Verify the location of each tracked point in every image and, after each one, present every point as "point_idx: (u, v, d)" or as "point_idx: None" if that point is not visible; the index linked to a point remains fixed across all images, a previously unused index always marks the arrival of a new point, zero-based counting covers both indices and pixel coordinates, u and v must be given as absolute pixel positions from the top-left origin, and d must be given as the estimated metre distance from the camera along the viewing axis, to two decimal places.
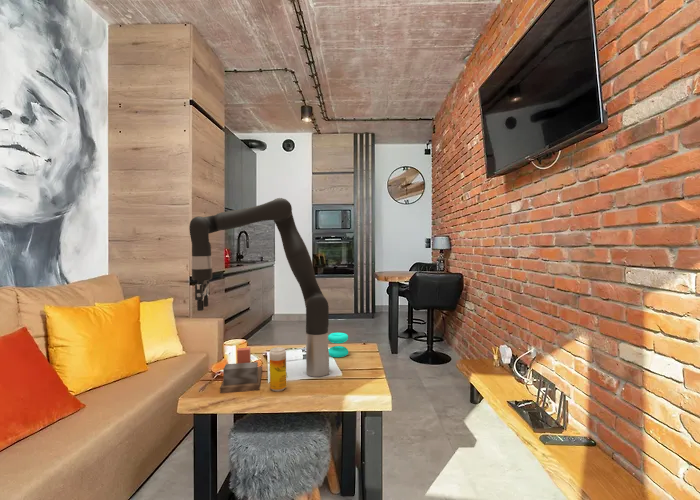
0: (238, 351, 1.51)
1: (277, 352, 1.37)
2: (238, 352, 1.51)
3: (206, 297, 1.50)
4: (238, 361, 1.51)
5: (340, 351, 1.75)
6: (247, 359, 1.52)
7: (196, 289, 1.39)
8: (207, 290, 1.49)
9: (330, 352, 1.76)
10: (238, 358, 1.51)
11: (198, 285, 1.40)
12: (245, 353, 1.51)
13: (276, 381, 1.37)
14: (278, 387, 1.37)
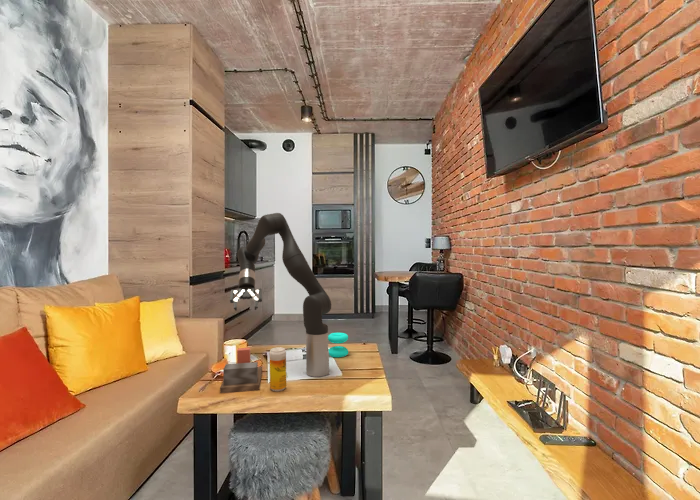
0: (238, 351, 1.51)
1: (277, 352, 1.37)
2: (238, 352, 1.51)
3: (255, 301, 1.70)
4: (238, 361, 1.51)
5: (340, 351, 1.75)
6: (247, 359, 1.52)
7: None
8: (250, 294, 1.71)
9: (330, 352, 1.76)
10: (238, 358, 1.51)
11: None
12: (245, 353, 1.51)
13: (276, 381, 1.37)
14: (278, 387, 1.37)
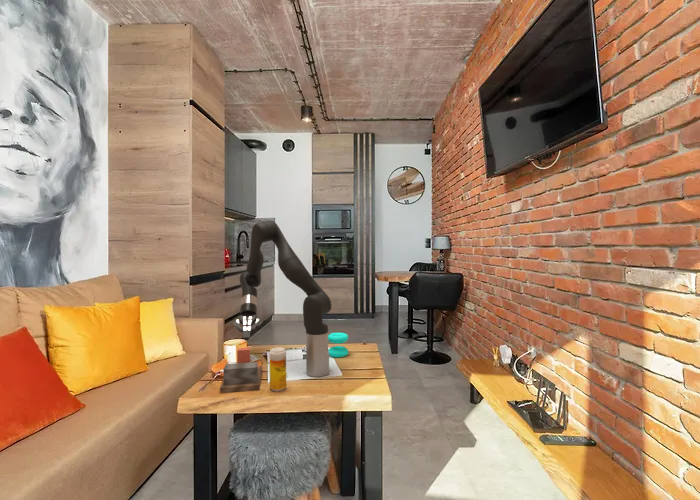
0: (238, 351, 1.51)
1: (277, 352, 1.37)
2: (238, 352, 1.51)
3: (247, 331, 1.65)
4: (238, 361, 1.51)
5: (340, 351, 1.75)
6: (247, 359, 1.52)
7: (235, 326, 1.68)
8: (248, 322, 1.68)
9: (330, 352, 1.76)
10: (238, 358, 1.51)
11: None
12: (245, 353, 1.51)
13: (276, 381, 1.37)
14: (278, 387, 1.37)
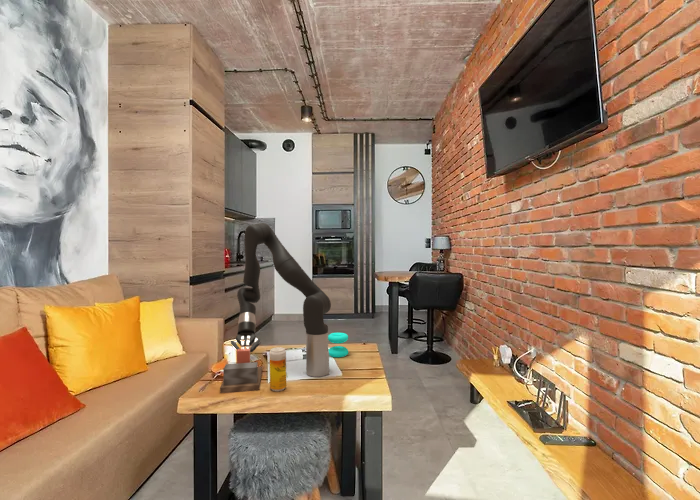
0: (238, 352, 1.50)
1: (277, 352, 1.37)
2: (237, 353, 1.50)
3: None
4: (238, 362, 1.50)
5: (340, 351, 1.75)
6: (246, 360, 1.51)
7: None
8: (246, 342, 1.58)
9: (330, 352, 1.76)
10: (238, 359, 1.50)
11: (231, 343, 1.59)
12: (245, 353, 1.50)
13: (276, 381, 1.37)
14: (278, 387, 1.37)
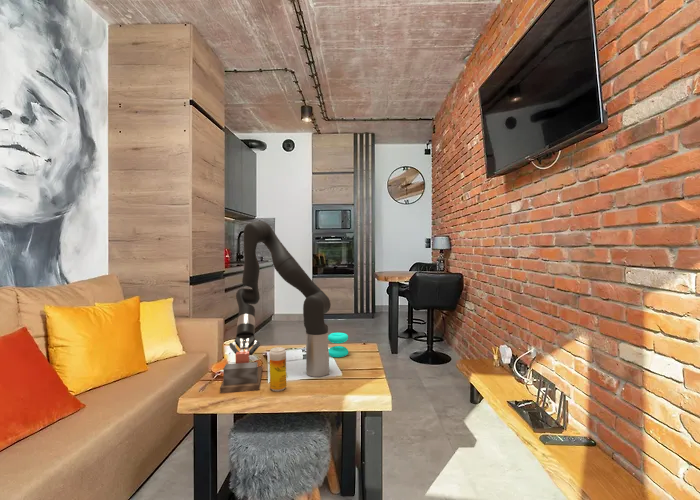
0: (236, 355, 1.46)
1: (277, 352, 1.37)
2: (236, 356, 1.46)
3: None
4: None
5: (340, 351, 1.75)
6: None
7: None
8: (245, 344, 1.54)
9: (330, 352, 1.76)
10: (236, 362, 1.46)
11: None
12: (244, 356, 1.47)
13: (276, 381, 1.37)
14: (278, 387, 1.37)
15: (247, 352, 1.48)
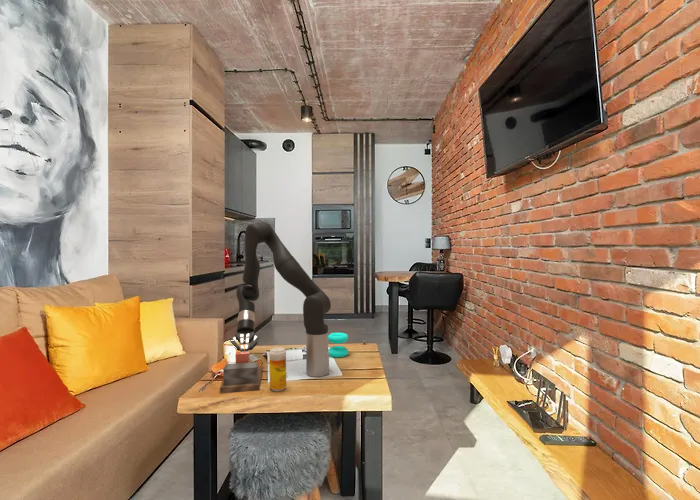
0: (236, 355, 1.46)
1: (277, 352, 1.37)
2: (236, 356, 1.46)
3: None
4: None
5: (340, 351, 1.75)
6: None
7: None
8: (245, 340, 1.58)
9: (330, 352, 1.76)
10: (236, 362, 1.46)
11: (230, 341, 1.59)
12: (244, 357, 1.46)
13: (276, 381, 1.37)
14: (278, 387, 1.37)
15: (247, 352, 1.48)
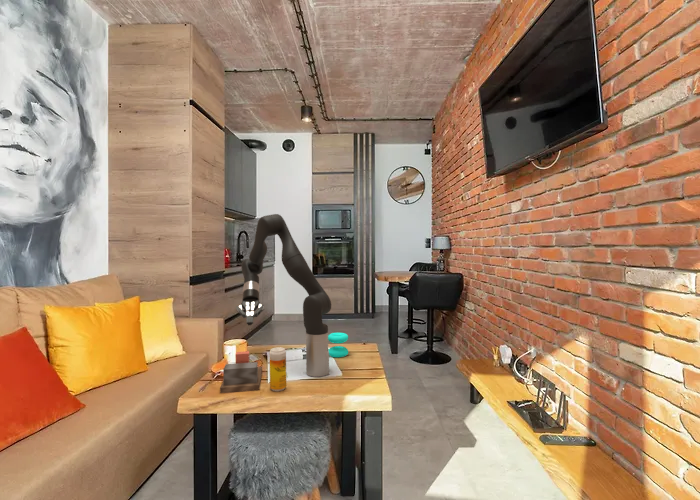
0: (236, 355, 1.46)
1: (277, 352, 1.37)
2: (236, 356, 1.46)
3: None
4: None
5: (340, 351, 1.75)
6: None
7: (238, 311, 1.69)
8: (251, 307, 1.68)
9: (330, 352, 1.76)
10: (236, 362, 1.46)
11: (236, 308, 1.69)
12: (244, 357, 1.46)
13: (276, 381, 1.37)
14: (278, 387, 1.37)
15: (247, 352, 1.48)
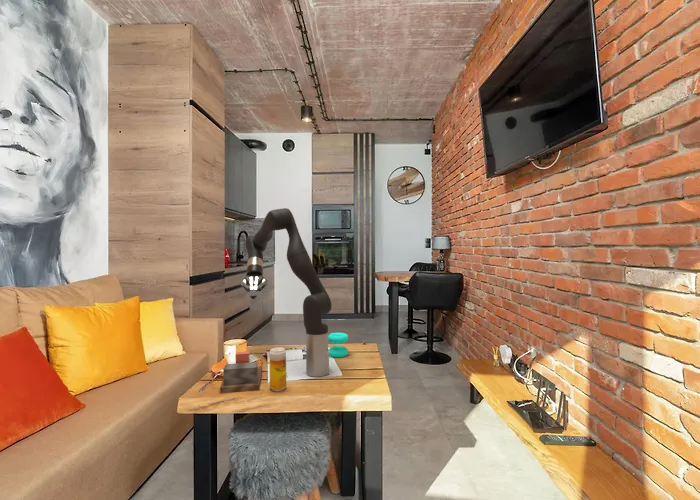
0: (236, 355, 1.46)
1: (277, 352, 1.37)
2: (236, 356, 1.46)
3: None
4: None
5: (340, 351, 1.75)
6: None
7: (242, 286, 1.72)
8: (254, 282, 1.72)
9: (330, 352, 1.76)
10: (236, 362, 1.46)
11: None
12: (244, 357, 1.46)
13: (276, 381, 1.37)
14: (278, 387, 1.37)
15: (247, 352, 1.48)
